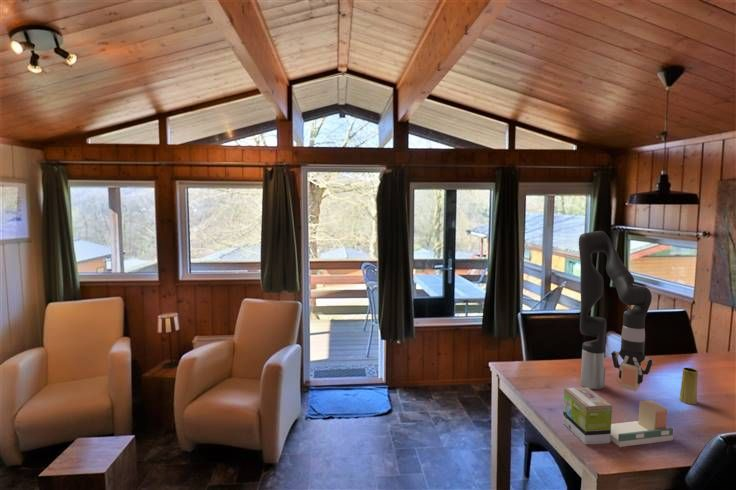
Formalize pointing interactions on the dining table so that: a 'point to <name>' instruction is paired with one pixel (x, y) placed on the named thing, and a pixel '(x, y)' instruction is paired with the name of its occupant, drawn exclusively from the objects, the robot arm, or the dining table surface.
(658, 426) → the faced carton
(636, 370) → the carton
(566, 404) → the tea box
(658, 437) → the white flat slab
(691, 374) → the vase
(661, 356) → the dining table surface
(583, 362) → the robot arm
